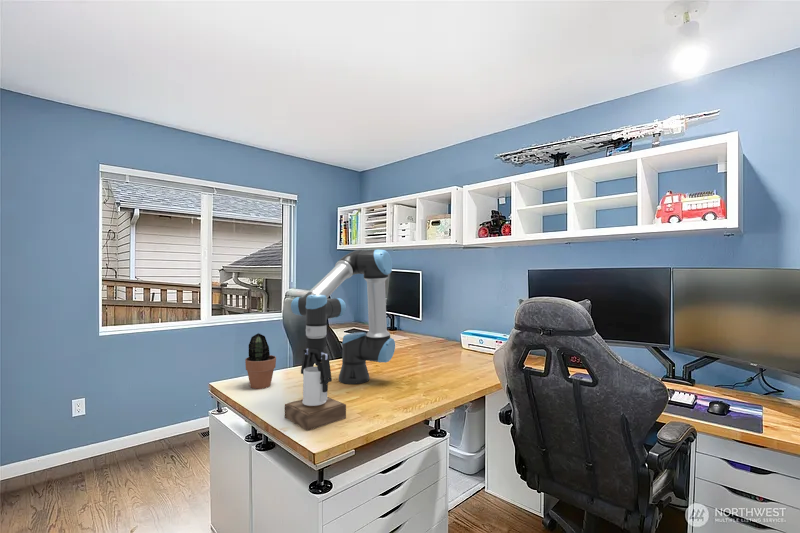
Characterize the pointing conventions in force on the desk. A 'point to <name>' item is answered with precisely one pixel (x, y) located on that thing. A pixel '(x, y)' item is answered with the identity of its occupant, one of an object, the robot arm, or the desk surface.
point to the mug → (311, 387)
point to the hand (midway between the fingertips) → (315, 397)
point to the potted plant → (259, 363)
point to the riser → (315, 413)
